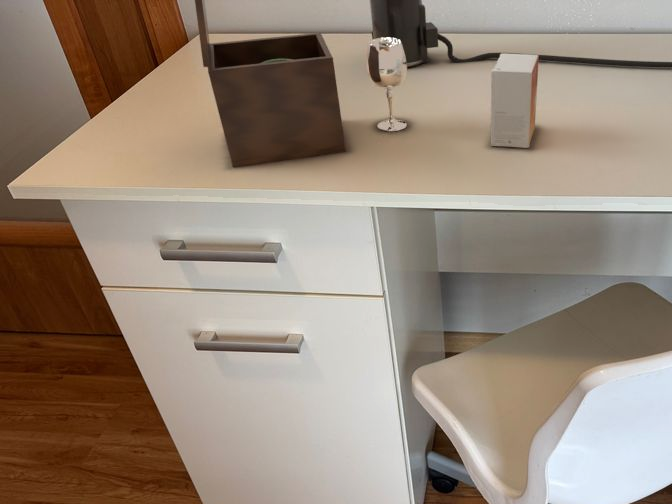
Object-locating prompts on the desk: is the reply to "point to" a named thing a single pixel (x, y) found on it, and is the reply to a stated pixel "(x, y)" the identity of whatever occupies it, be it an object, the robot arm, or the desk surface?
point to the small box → (513, 100)
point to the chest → (276, 98)
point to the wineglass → (387, 73)
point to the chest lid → (203, 31)
